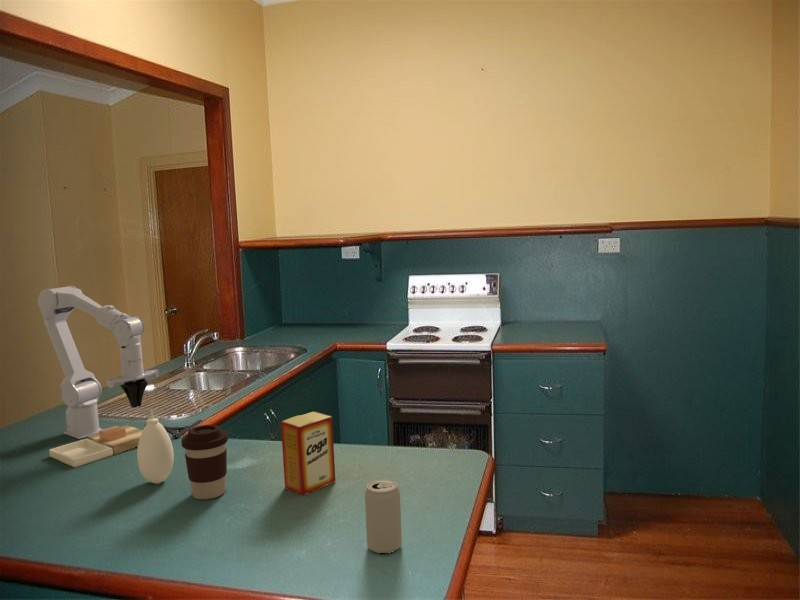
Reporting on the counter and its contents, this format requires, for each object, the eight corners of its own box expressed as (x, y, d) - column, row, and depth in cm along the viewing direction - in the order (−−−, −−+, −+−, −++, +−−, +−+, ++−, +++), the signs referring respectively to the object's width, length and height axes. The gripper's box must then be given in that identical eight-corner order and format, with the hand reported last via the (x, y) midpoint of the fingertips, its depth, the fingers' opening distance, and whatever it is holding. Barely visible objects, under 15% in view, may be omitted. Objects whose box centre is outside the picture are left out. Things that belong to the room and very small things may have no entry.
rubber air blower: (163, 489, 146) (156, 413, 144) (133, 488, 148) (126, 413, 145) (181, 476, 154) (175, 403, 151) (152, 474, 155) (146, 403, 153)
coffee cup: (240, 486, 146) (235, 423, 144) (214, 505, 137) (209, 438, 135) (204, 482, 149) (199, 420, 148) (176, 500, 140) (170, 434, 138)
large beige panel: (89, 445, 179) (88, 436, 178) (127, 433, 188) (127, 425, 187) (114, 454, 170) (113, 445, 170) (153, 442, 179) (153, 433, 179)
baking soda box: (317, 474, 151) (313, 409, 149) (335, 481, 147) (331, 414, 145) (285, 488, 145) (280, 420, 143) (302, 495, 140) (298, 425, 138)
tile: (99, 438, 176) (98, 430, 176) (116, 433, 180) (116, 425, 180) (108, 441, 173) (107, 433, 173) (126, 436, 177) (125, 428, 177)
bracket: (158, 423, 198) (158, 415, 198) (203, 424, 195) (202, 415, 195) (131, 439, 184) (130, 430, 184) (178, 441, 181) (177, 431, 181)
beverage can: (366, 540, 120) (363, 479, 118) (400, 537, 120) (398, 476, 119) (367, 557, 113) (364, 493, 112) (403, 554, 114) (401, 490, 112)
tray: (50, 456, 170) (49, 449, 170) (88, 445, 178) (87, 438, 178) (74, 467, 162) (73, 460, 162) (113, 455, 170) (112, 448, 170)
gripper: (114, 366, 172) (118, 415, 174) (162, 356, 183) (166, 402, 185) (101, 363, 176) (105, 411, 178) (149, 354, 188) (153, 398, 189)
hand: (136, 406), depth 182 cm, fingers closed
